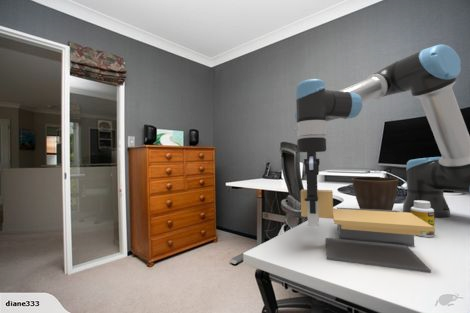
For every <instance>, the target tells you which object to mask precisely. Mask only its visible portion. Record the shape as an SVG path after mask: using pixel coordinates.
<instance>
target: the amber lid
mask: <svg viewBox="0 0 470 313" xmlns="http://www.w3.org/2000/svg"><path fill="white" fill-rule="evenodd" d="M317 196H318V200H317V201H318V218H319V219H330V220H331V219H333V224H334V225H337V224H340V225H341V228H342V229H349V230H361V231H373V232H385V233H397V234H409V235H414V236H418V235H421V231H431V232H434V227H433V226H431V225H430V224H428V223H426V222H425V221H423V220H422V219H420V218H418V217H417V216H415V215H413V214H412V213H407V212H404V211H403V212H402V211H400V212H388V211H370V210H352V209H337V208H334V198H333V190H332V189H331V190H330V189H317ZM305 199H307V188H306V189H305V188H304V189H301V190H300V214H301V215H300V217H304V218H308V210H307V201H305Z"/></svg>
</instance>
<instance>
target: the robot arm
mask: <svg viewBox="0 0 470 313" xmlns="http://www.w3.org/2000/svg"><path fill="white" fill-rule="evenodd" d="M461 65H462V62H461V58H460V56H459V55H458V53H457V52H456V50H454V49H453V48H452V47H451V46H449V45H446V44H437V45H434V46H433V45H432V46H431V47H427V48H424V49H422V50H420V51H417V52H415V53H414V54H411V55H409V56H407V57H404V58H402V59H399V60H396V61H395V62H393V63H390V64H389V65H386V66H385V67H383V68H381V69H380V70H378V71H376V72H374V73H372V74H370V75H368V76H367V77H366V78H365V79H364V80H362V81H359V82H357V83H355V84H352V85H349V86H348V87H345V88H341V89H339V90H330V89H326V86H325V84H326V83H325V81H324V80H322V79H320V78H309V79H306V80H302V81H301V82H299V83H298V84H297V86H296V92H295V104H296V105H295V106H296V111H295V114H294V117H295V120H296V126H295V127H294V130H295V131H296V134H297V137H298V139H297V141H296V143H297V146H296V148H297V152H298V153H306V158H305V159H303V163H304V172H305V175H306V190H307V199H305V201H307V210H308V217H307V226H312V227H313V226H314V227H319V221H320V218H318V201H317V200H318V196H317V190H318V176H319V174H320V168H319V167H320V158H317V153H324V152H326V151H327V139H326V138H325V136H326V135H327V122H330V121H333V120H338V119H344V120H347V119H354V118H356V117H358V115H360V113H361V112H362V109H363V103H366V102H368V101H370V100H378V99H379V100H380V99H381V98H383V97H384V98H385V97H388V96H391V95H396V94H402V93H405V92H408V91H410V92H411V95H412V97H414V98H417V99H419V101H420V103H421V105H422V108H423V111H424V114H425V117H426V119H427V121H428V124H429V126H430V129H431V132H432V133H433V136H434V140H435V143H436V144H437V147H438V150H439V152H440V154H441V156H434V157H432V156H431V157H423V158H421V157H420V158H415V159H409V160H408V161H407V162H406V169H405V171H406V188H407V195H406V197H405V199H404V202H403V204H402V211H403V212H407V213H411V207H413V206H414V201H415V200H421V201H429V202H430V205H431V206H430V208H432V209H433V210H434V218H448V217H450V216H451V208H450V207H449V205H448V202H447V200H446V198H445V196H444V191H449V192H450V191H451V192H452V191H453V192H462V193H470V134H469V131H468V128H467V125H466V122H465V120H464V116H463V115H462V114H463V113H462V112H461V109H460V107H459V104H458V100H457V97H456V95H455V93H454V92H455V91H454V90H453V87H454V85H455V84H456V82H457V78H456V77H458V76H459V75H460V73H461V70H462V67H461Z"/></svg>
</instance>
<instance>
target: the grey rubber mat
mask: <svg viewBox="0 0 470 313" xmlns="http://www.w3.org/2000/svg"><path fill="white" fill-rule="evenodd" d="M325 249H326V259H327V260H329V261H330V260H331V261H336V262H345V263H352V264H360V265H368V266H376V267H384V268H385V267H386V268H393V269H399V270H405V271H407V270H409V271H416V272H423V273H429V274H430V273H432V270H431V269H430V267H428V266H427V264H426V263H425V262H423V260H421V259H420V258H419V256H418V255H416V254H415V252H414V251H413V250H412V249H411V248H410V246H407V245H396V244H386V243H375V242H365V241H355V240H344V239H340V238H333V237H332V238H331V237H325Z"/></svg>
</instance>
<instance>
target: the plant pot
mask: <svg viewBox="0 0 470 313" xmlns="http://www.w3.org/2000/svg"><path fill="white" fill-rule="evenodd" d="M351 181H352V185H353V186H352V187H353V191H354V195H355V198H356V202H357V206H358V207H359V208H358V209H376V210H393V208H394V206H395V203H396V198H397V193H398V185H399V179H398V178H394V177H379V176H378V177H377V176H364V177H363V176H362V177H360V176H358V177H352V178H351Z"/></svg>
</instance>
